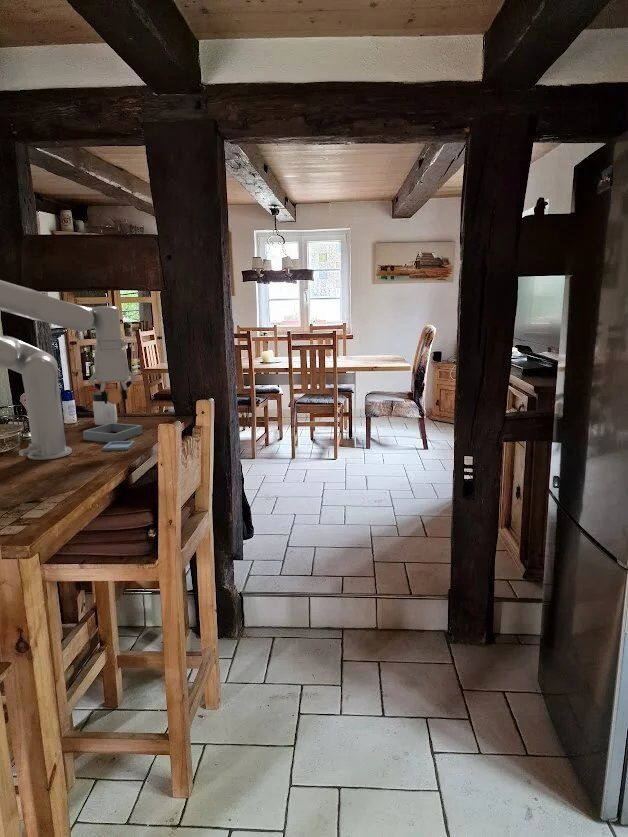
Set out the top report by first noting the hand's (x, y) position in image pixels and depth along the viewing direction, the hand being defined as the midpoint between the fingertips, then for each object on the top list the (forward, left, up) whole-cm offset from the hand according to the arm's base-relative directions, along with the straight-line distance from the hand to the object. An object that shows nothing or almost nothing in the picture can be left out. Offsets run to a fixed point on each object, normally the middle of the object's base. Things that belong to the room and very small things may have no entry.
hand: (114, 401), depth 180 cm
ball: (0, 0, -1) cm, 1 cm away
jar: (+27, +31, -15) cm, 44 cm away
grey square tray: (+11, +12, -15) cm, 22 cm away
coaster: (0, 0, -15) cm, 15 cm away
